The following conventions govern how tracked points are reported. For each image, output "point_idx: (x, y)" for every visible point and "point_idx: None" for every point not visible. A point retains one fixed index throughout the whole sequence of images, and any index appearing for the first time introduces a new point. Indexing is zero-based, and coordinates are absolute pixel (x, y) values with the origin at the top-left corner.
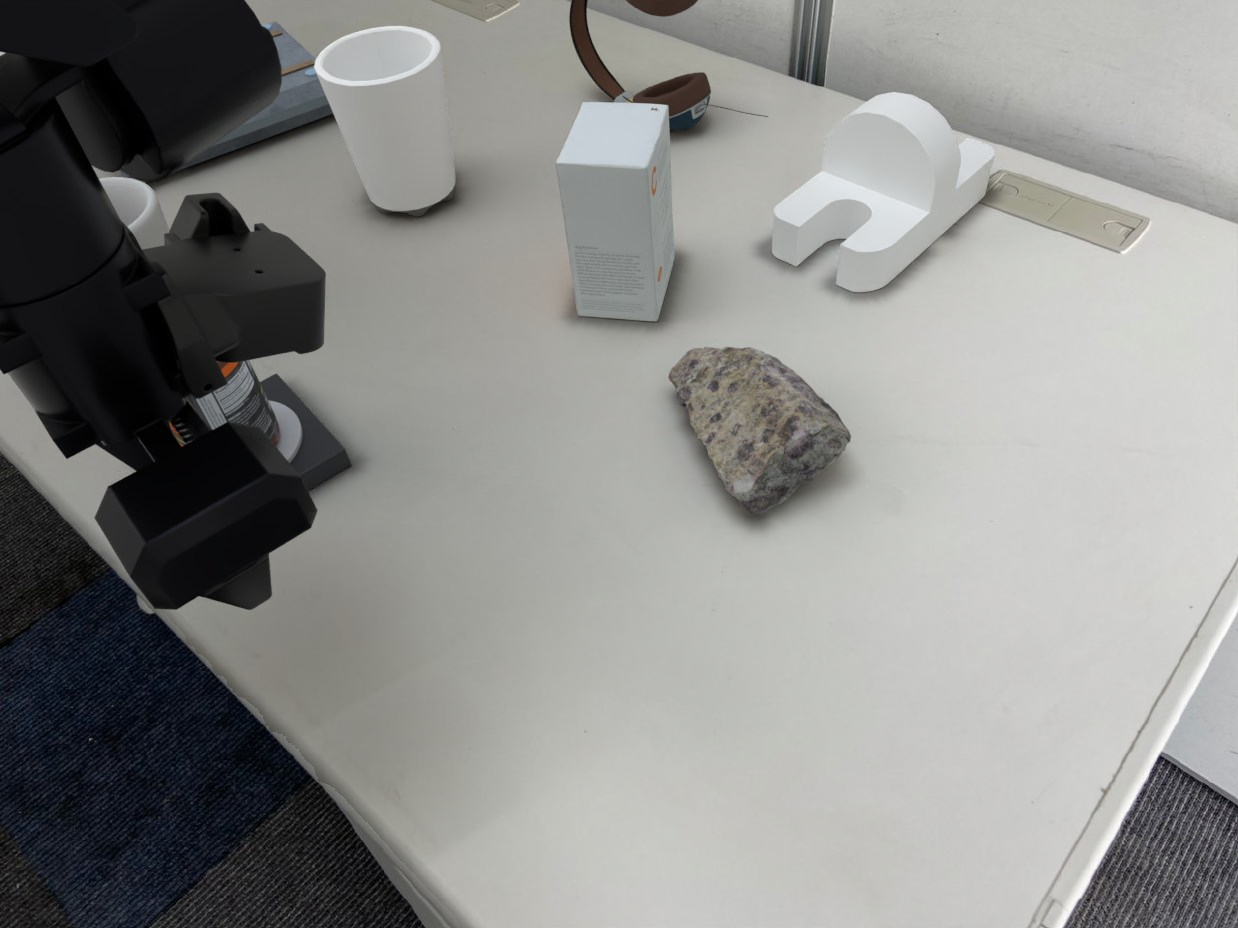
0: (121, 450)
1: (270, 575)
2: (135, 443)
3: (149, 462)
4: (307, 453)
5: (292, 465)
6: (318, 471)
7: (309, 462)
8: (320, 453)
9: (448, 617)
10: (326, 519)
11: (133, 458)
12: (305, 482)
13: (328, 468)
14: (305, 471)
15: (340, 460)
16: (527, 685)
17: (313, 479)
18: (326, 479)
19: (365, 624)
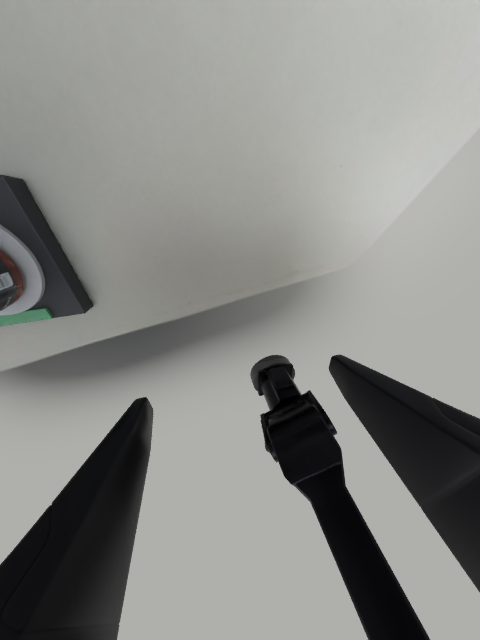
0: (135, 510)
1: (380, 373)
2: (127, 502)
3: (142, 457)
4: (1, 214)
5: (19, 233)
6: (32, 214)
7: (18, 218)
8: (5, 202)
9: (226, 194)
10: (93, 230)
11: (139, 481)
12: (44, 230)
13: (28, 203)
14: (32, 226)
15: (18, 187)
16: (297, 178)
17: (40, 222)
18: (39, 210)
19: (201, 245)
